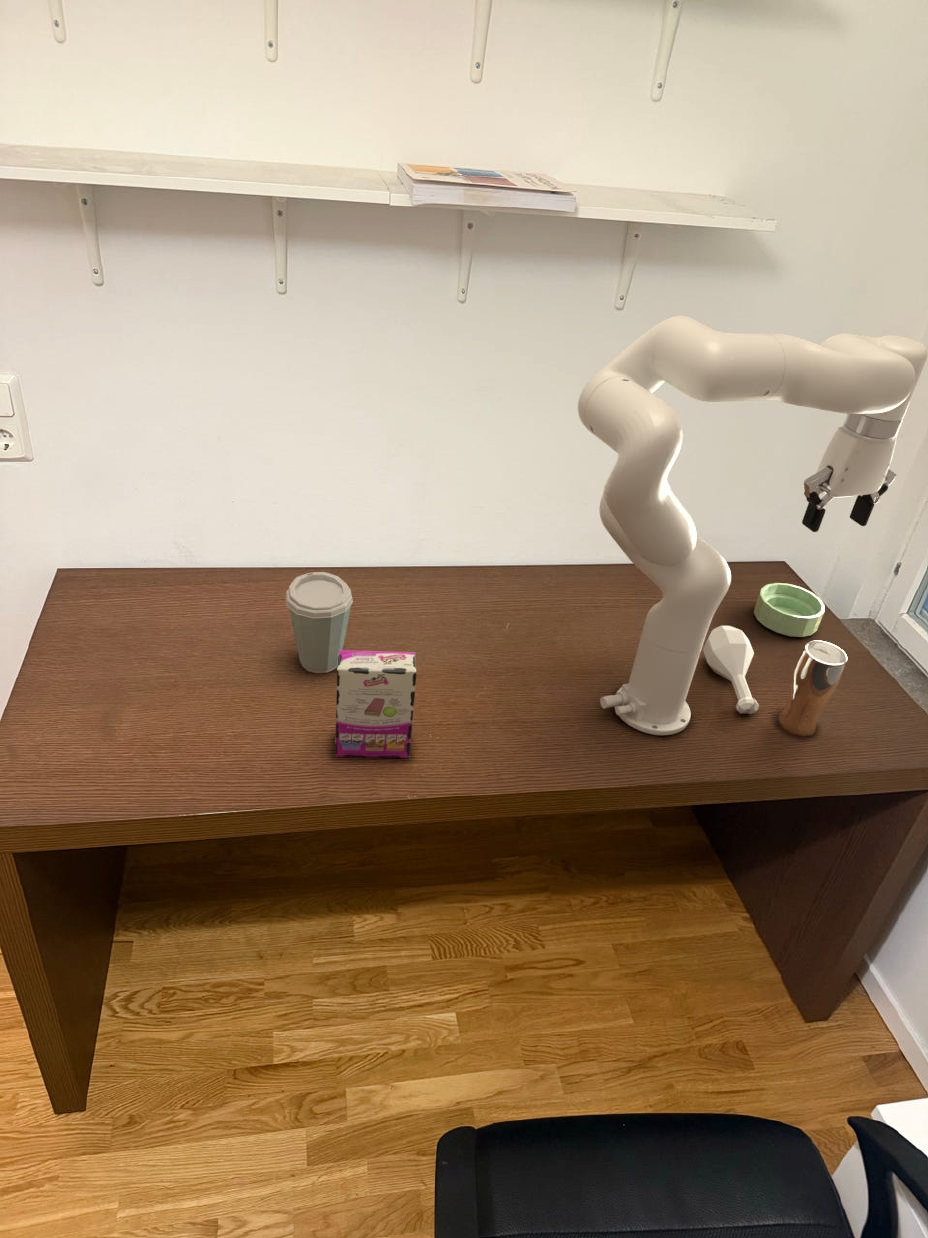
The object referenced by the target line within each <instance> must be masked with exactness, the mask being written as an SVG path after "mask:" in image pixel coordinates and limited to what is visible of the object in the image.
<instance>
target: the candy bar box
mask: <svg viewBox="0 0 928 1238" xmlns="http://www.w3.org/2000/svg"><path fill="white" fill-rule="evenodd" d="M416 683H417V660H416V652H415V651H390V650H389V651H388V650H387V651H386V650H385V651H384V650H357V649H355V650H353V649H343V650H339V655H338V663H337V667H336V696H335V697H336V700H335V702H336V703H335V739H334V742H335V743H334V756H335V757H337V758H385V759H386V758H392V759H393V758H394V759H395V758H397V759H409V758H410V753H411V745H412V744H411V743H412V733H413V732H412V731H413V720H414V706H415V697H416Z"/></svg>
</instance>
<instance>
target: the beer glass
mask: <svg viewBox="0 0 928 1238" xmlns="http://www.w3.org/2000/svg"><path fill="white" fill-rule="evenodd" d="M847 662H848V656H847V654H846V652H845V651H844V650H843V649H841V648H840V647H839V646H837V645H835V644H833V643H831V642H827V641H823V640H810V641H807V643H805V645H804V647H803V649H802V651H801V654H800V656H799V657H798V659H797V662H796V664H795V667H794V670H793V673H792V676H791V681H790V687H789V694H788V699H787V702H786V704H785V706H784V708H783V709H782V710H781V712H780V713H779V715H778V719H777V721H778V724H779V725H780V726H781V728H782V729H784V730H785V731H786V732H788V733H790V734H792V735H795V736H799V737H809V736H811V735H813V734H814V733H815V732H816V730H817V724H818V718H819V716H820V714H821V712H822V710H823V709H824V707H825V706H826V704H827V703H828V702H829V700H830V699H831V697H832V696H833V695H834V693H835V691H836V690H837V688H838V686H839V684H840V681H841V679H842V676H843V673H844V670H845V667H846V664H847Z"/></svg>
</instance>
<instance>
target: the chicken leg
mask: <svg viewBox="0 0 928 1238" xmlns="http://www.w3.org/2000/svg"><path fill="white" fill-rule="evenodd" d="M702 651H703V654H704V657H705V661H706V664H707V665H709V667H710V668H711V671H713V672H714V673H715V674H717V675H719V676H721V677H723V678H724V679H726V680H728V681H729V682H731V683H732V686H733V689H734V692H735V695H736V697H737V703H736V705H735V709H736V711H737V712H738V713H739V714H740V715H742V714H743V715H744V714H749V715H752V714H754V713H756V712H757V711H758V709H759V707H760V705H759V703H758V702H757V700H756V699H755V698H754V697H752V694H751V690H750V688H749V685H748V683H747V679H746V674H747V672H748V670H749V667H750V665H751V663H752V660H753V657H754V655H755V651H754V649H753V647H752V644H751V642H750V639H749V638H748V636H746V634H745V633H744V632H743V630H742V629H739V628H736V627H734V626H731V625H720V626H717V627H715V628H713V629H711V632H710V634H709V636H708V637H707V640H706V642H705V644H704V645H703V647H702Z"/></svg>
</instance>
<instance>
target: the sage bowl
mask: <svg viewBox="0 0 928 1238" xmlns="http://www.w3.org/2000/svg"><path fill="white" fill-rule="evenodd" d="M825 608H826V607H825V604H824V602H823V601H822V600H821V597H818V596H817V595H816V594H815V593H813V592H812V591H810V590H807V589H805V588H803V587H801V586H798V585H794V584H791V583H784V582H773V583H767V584H766V585H764V586H763V587H761V588H760V590H759V594H758V597H757V599H756V602H755V605H754V609H753V614H754V616H755V618H756V620H757V621H758V622H759V623H760V624H761V625H763V626H764V627H765V628H767V629H769V630H771V631H773V632H775V633H776V634H780V635H784V636H787V637H795V638H796V637H797V638H805V637H808V636H812V635H813V634H814V633H816V632H817V631H818V630H819V627H820V624H821V621H822V619H823V616H824V614H825Z"/></svg>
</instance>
